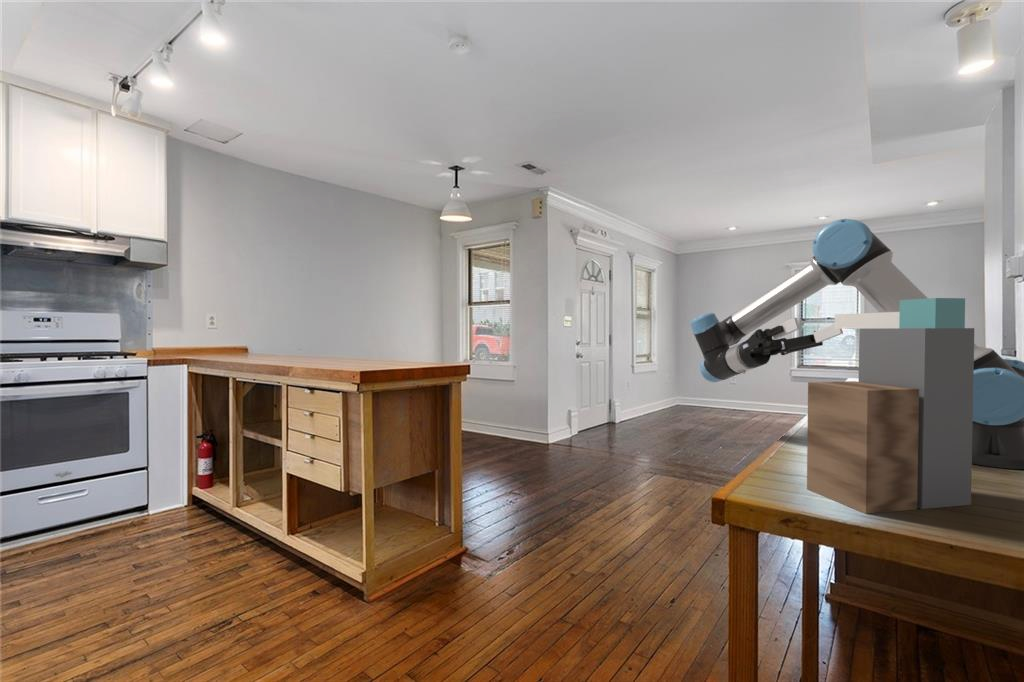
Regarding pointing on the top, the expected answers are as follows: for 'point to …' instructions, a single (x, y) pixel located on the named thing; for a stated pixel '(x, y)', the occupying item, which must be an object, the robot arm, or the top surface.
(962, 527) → the top surface
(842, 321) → the bar
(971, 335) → the tower
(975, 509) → the top surface
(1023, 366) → the robot arm
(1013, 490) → the top surface
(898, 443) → the tall wooden pillar
